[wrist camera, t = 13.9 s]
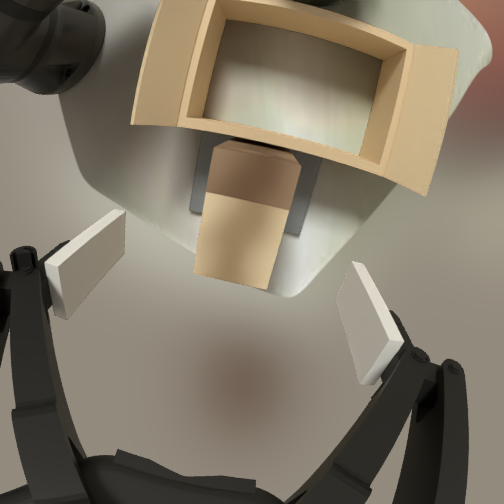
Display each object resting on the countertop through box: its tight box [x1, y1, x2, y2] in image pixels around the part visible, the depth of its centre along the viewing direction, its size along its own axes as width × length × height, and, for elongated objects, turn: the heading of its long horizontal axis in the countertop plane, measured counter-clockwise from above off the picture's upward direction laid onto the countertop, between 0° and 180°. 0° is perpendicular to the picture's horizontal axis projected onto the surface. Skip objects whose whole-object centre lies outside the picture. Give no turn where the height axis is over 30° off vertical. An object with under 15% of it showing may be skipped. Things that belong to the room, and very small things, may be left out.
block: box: [193, 137, 301, 290], centre depth 27 cm, size 6×10×14 cm, turn 168°
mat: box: [189, 131, 322, 235], centre depth 34 cm, size 14×10×1 cm
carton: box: [130, 0, 459, 196], centre depth 24 cm, size 26×15×12 cm, turn 78°
